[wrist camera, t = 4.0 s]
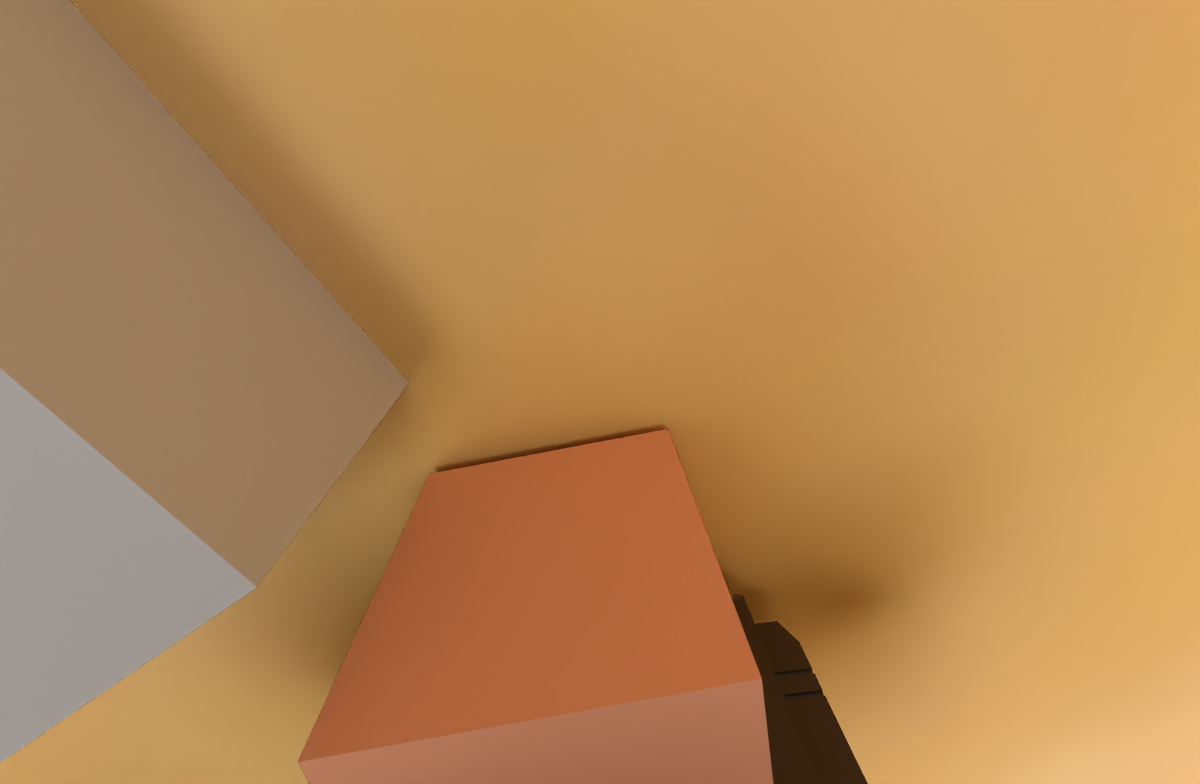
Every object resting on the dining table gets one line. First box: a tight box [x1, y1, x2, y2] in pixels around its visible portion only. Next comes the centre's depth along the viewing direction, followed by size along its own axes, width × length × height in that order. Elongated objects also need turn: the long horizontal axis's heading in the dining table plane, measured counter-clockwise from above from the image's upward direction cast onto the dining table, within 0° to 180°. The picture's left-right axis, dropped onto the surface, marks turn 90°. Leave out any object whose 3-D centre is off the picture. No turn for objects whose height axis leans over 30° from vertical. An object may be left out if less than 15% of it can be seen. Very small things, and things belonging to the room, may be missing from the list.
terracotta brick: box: [298, 429, 773, 784], centre depth 9 cm, size 8×4×5 cm, turn 10°
